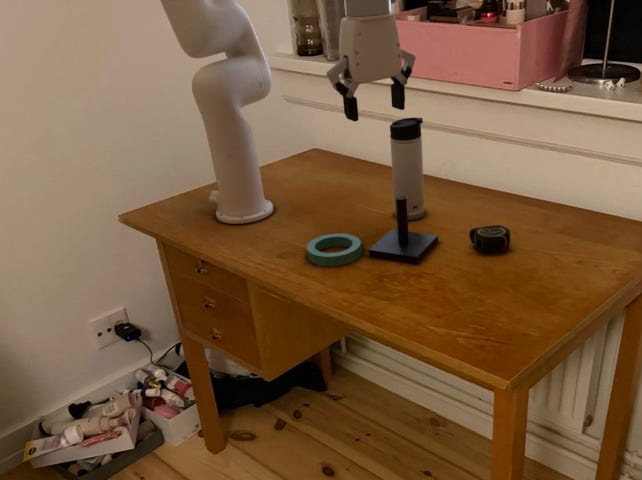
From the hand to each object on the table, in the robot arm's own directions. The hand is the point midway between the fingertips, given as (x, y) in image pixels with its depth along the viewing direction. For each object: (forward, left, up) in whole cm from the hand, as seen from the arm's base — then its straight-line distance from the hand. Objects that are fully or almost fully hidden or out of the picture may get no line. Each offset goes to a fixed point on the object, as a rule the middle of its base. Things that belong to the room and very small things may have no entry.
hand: (375, 114), depth 124 cm
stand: (+5, -1, -25) cm, 25 cm away
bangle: (-7, -7, -25) cm, 27 cm away
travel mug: (-1, +15, -25) cm, 29 cm away
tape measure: (+20, +5, -25) cm, 32 cm away
